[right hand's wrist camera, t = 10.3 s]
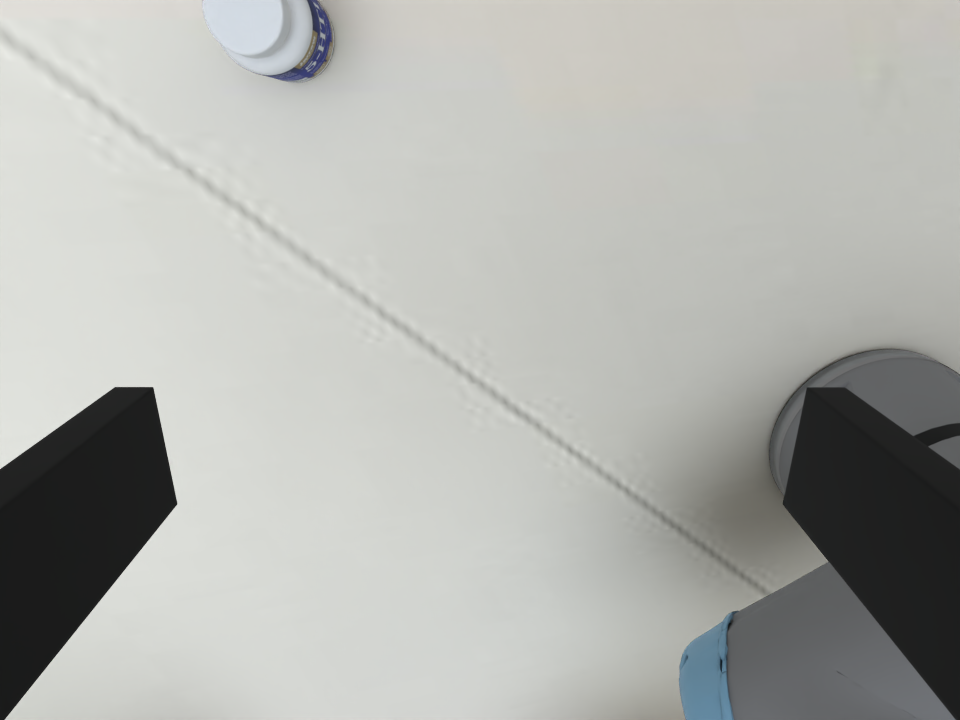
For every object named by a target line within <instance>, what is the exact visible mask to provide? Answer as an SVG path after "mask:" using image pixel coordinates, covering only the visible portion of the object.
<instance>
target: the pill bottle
mask: <svg viewBox="0 0 960 720" xmlns="http://www.w3.org/2000/svg"><path fill="white" fill-rule="evenodd" d="M202 7H203V14H204V18H205V21H206V24H207V26H208V28H209V30H210V32H211V33H212V35H213V36H214V38H215V39H216V40H217V41H218V42H219V43H220V44H221V46H222V48H223V49H224V51H225V52H226V53H227V54H228V56H229V57H230V58H231V59H232V60H234V61H235V62H236V63H237V64H238V65H240V66H241V67H243V68H245V69H247V70H249V71H251V72H253V73H256V74H260V75H264V76H268V77H272V78H276V79H279V80H283V81H287V82H293V83H299V82H305V81H308V80H311V79H313V78H315V77H316V76H318V75H319V74H320V73H321V72H323V70H324V69H325V68H326V67H327V65H328V63H329V62H330V59H331V57H332V53H333V49H334V31H333V27H332V23H331V21H330V18H329V16H328V14H327V12H326V11H325V9H324V8H323V6H322V5H321V4H320V3H319V2H318V1H317V0H203V2H202Z"/></svg>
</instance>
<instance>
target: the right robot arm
mask: <svg viewBox="0 0 960 720" xmlns="http://www.w3.org/2000/svg"><path fill="white" fill-rule="evenodd" d="M769 458H770V467H771V471H772V475H773V477H774V480H775V482H776V484H777V486H778V488H779V489H780V491H781V492H782V494H783V495H784V500H783V505H784V506H785V508H786V509H787V510H788V511H789V513H790V514H791V515H792V516H793V518H794V519H795V520H796V521H797V523H798V524H799V525H800V526H801V528H802V529H803V530H804V531H805V533H806V534H807V535H808V536H809V538H810V539H811V540H812V541H813V543H814V544H815V545H816V546H817V548H818V549H819V550H820V551H821V552H822V554H823V555H824V556H825V557H826V559H827V560H828V561H829V562H828V563H826V564H824V565H822V566H821V567H819V568H817V569H815V570H813V571H812V572H810V573H808V574H806V575H805V576H803V577H801V578H799V579H797V580H796V581H794V582H792V583H790V584H789V585H787V586H785V587H783V588H782V589H780V590H778V591H776V592H774V593H772V594H770V595H768V596H767V597H765V598H763V599H761V600H759V601H757V602H755V603H754V604H752V605H750V606H748V607H746V608H744V609H742V610H741V611H734V612H732V613H729V614H728V615H727V616H726V617H725V619H724V620H723V622H721V623H720V624H718V625H717V626H715V627H714V628H712V629H711V630H709V631H707V632H706V633H704V634H703V635H701V636H699V637H698V638H696V639H695V640H693V641H692V642H691V643H690V644H689V645H688V646H687V647H686V649H685V651H684V653H683V655H682V658H681V663H680V677H679V686H680V694H681V700H682V705H683V710H684V714H685V718H686V720H960V375H959V374H958V373H957V372H955V371H954V370H952V369H951V368H949V367H947V366H945V365H943V364H941V363H939V362H937V361H935V360H934V359H931V358H929V357H927V356H925V355H922V354H919V353H915V352H911V351H906V350H895V349H885V350H875V351H868V352H864V353H860V354H856V355H853V356H850V357H847V358H845V359H842V360H840V361H838V362H836V363H834V364H832V365H830V366H828V367H826V368H825V369H823V370H822V371H820V372H818V373H817V374H816V375H814V376H813V377H812V378H810V379H809V380H808V381H807V382H806V383H805V384H804V385H802V386H801V387H800V388H799V389H798V391H797V392H796V393H795V394H794V395H793V396H792V397H791V399H790V400H789V401H788V403H787V404H786V406H785V407H784V408H783V410H782V412H781V414H780V416H779V417H778V420H777V422H776V424H775V427H774V430H773V433H772V437H771V442H770V450H769ZM176 505H177V500H176V495H175V490H174V486H173V481H172V476H171V471H170V466H169V461H168V457H167V452H166V447H165V442H164V437H163V432H162V428H161V423H160V418H159V413H158V408H157V403H156V398H155V394H154V389H153V387H115V388H113V389H112V390H111V391H109V392H108V393H106V394H105V395H104V396H102V397H101V398H99V399H98V400H97V401H95V402H94V403H92V404H91V405H90V406H88V407H87V408H85V409H84V410H83V411H81V412H80V413H78V414H77V415H76V416H74V417H73V418H71V419H70V420H69V421H67V422H66V423H64V424H63V425H62V426H60V427H59V428H57V429H56V430H55V431H53V432H52V433H50V434H49V435H48V436H46V437H45V438H43V439H42V440H41V441H39V442H38V443H36V444H35V445H34V446H32V447H31V448H29V449H28V450H27V451H25V452H24V453H22V454H21V455H20V456H18V457H17V458H15V459H14V460H13V461H11V462H10V463H8V464H7V465H6V466H4V467H3V468H1V469H0V720H5V718H6V717H7V716H8V715H9V713H10V712H11V711H12V710H13V708H14V707H15V706H16V705H17V703H18V702H19V701H20V700H21V698H22V697H23V696H24V695H25V693H26V692H27V691H28V690H29V688H30V687H31V686H32V685H33V683H34V682H35V681H36V680H37V678H38V677H39V676H40V675H41V673H42V672H43V671H44V670H45V668H46V667H47V666H48V665H49V663H50V662H51V661H52V660H53V658H54V657H55V656H56V655H57V654H58V652H59V651H60V650H61V649H62V647H63V646H64V645H65V644H66V642H67V641H68V640H69V639H70V637H71V636H72V635H73V634H74V632H75V631H76V630H77V629H78V627H79V626H80V625H81V624H82V622H83V621H84V620H85V619H86V617H87V616H88V615H89V614H90V612H91V611H92V610H93V609H94V607H95V606H96V605H97V604H98V602H99V601H100V600H101V599H102V597H103V596H104V595H105V594H106V592H107V591H108V590H109V589H110V587H111V586H112V585H113V584H114V582H115V581H116V580H117V579H118V577H119V576H120V575H121V574H122V572H123V571H124V570H125V569H126V567H127V566H128V565H129V564H130V562H131V561H132V560H133V559H134V557H135V556H136V555H137V554H138V552H139V551H140V550H141V549H142V548H143V546H144V545H145V544H146V543H147V541H148V540H149V539H150V538H151V536H152V535H153V534H154V533H155V531H156V530H157V529H158V528H159V526H160V525H161V524H162V523H163V521H164V520H165V519H166V518H167V516H168V515H169V514H170V513H171V511H172V510H173V509H174V508H175V506H176Z"/></svg>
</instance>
